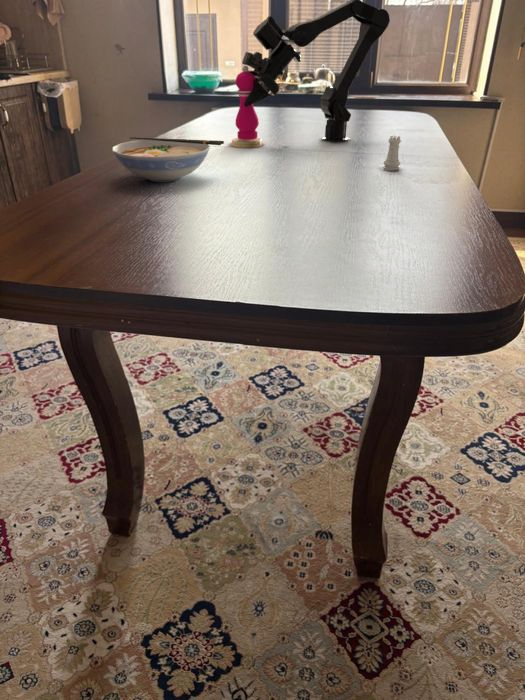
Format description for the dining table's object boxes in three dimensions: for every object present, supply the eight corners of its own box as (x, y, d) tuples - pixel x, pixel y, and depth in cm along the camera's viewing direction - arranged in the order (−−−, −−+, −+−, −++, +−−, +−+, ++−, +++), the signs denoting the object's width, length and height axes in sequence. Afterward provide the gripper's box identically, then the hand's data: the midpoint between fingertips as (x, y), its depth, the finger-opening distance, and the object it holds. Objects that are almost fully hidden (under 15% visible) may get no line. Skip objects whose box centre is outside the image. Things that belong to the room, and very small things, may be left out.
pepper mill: (236, 135, 167) (233, 64, 156) (258, 135, 167) (257, 64, 156) (236, 140, 161) (232, 67, 150) (259, 139, 161) (257, 66, 150)
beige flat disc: (250, 141, 170) (250, 136, 170) (267, 145, 164) (267, 140, 163) (225, 144, 165) (225, 139, 165) (242, 148, 159) (242, 143, 158)
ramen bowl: (92, 185, 121) (86, 147, 116) (144, 165, 139) (140, 132, 135) (189, 195, 113) (186, 156, 109) (230, 173, 132) (229, 138, 127)
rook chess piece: (401, 168, 137) (406, 135, 133) (397, 171, 134) (402, 138, 129) (384, 166, 139) (388, 134, 134) (380, 170, 135) (384, 137, 131)
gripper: (249, 40, 158) (216, 82, 161) (268, 41, 143) (231, 87, 146) (273, 68, 165) (241, 108, 168) (294, 72, 149) (258, 116, 152)
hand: (242, 104), depth 158 cm, fingers closed on pepper mill, 4 cm apart
